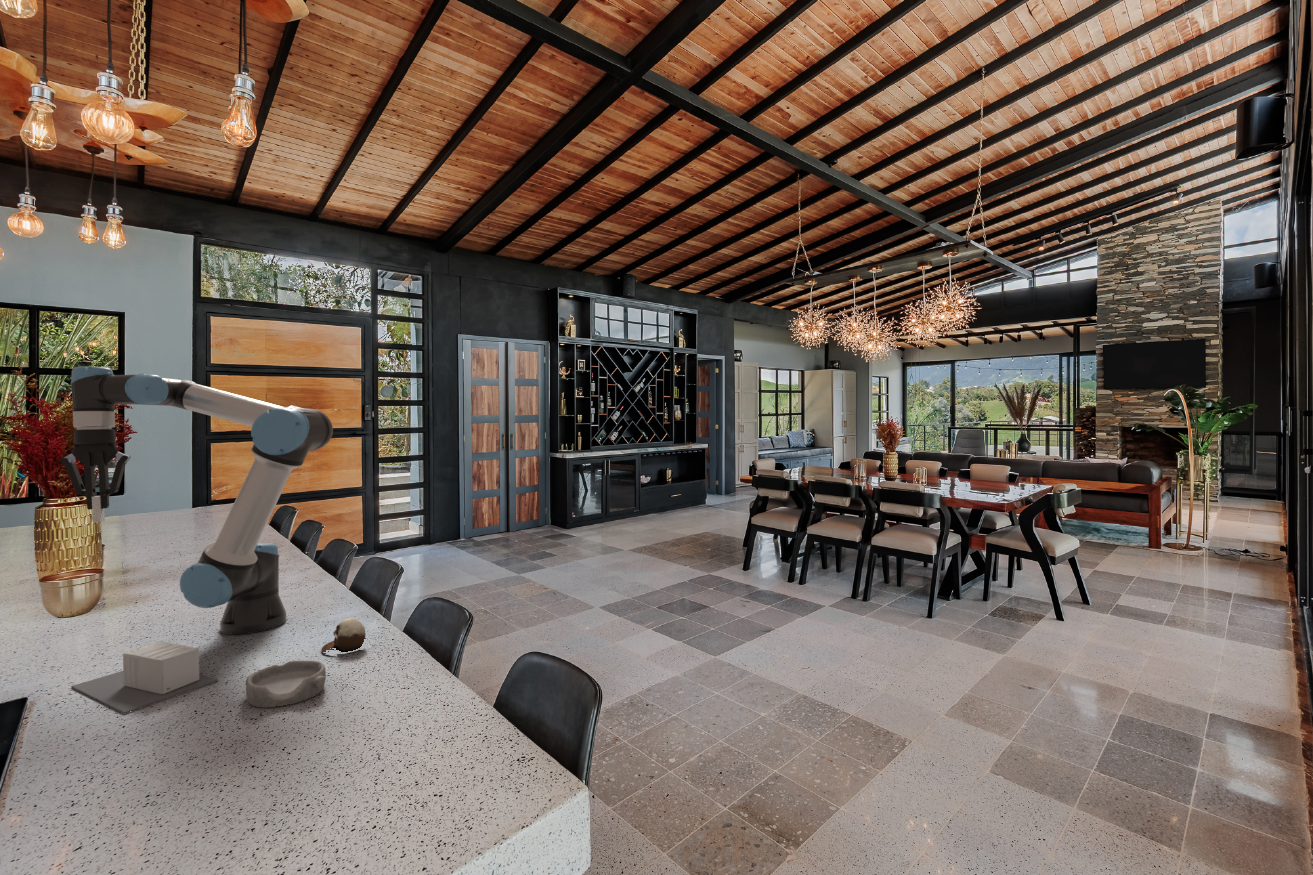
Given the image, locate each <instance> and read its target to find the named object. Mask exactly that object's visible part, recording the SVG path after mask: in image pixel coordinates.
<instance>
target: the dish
mask: <svg viewBox="0 0 1313 875" xmlns="http://www.w3.org/2000/svg"><path fill="white" fill-rule="evenodd" d="M326 671H327V670H326V666H325V664H324V663H323V662H321V661H318V660H290V661H288V662H285V663H284V664H273V665H270V666H266V667H265V668H262V669H260V670H257V671H255V672H254V673H252V674H250V675H249V676H248V677H246V679H245V695H246V700H247V702H248V704H250V705H251V706H253V707H257V708H261V707H262V708H265V709H266V708H268V707H269V708H276V707H275V706H280V707H284V706H283V705H285V706H288V705H287V704H290V705H294V704H297V703H296V702H298V703H300V702H304V701H306V700H309V699H311V697H312V698H313V697H315V696H317V695H318V694H319V693H321V692H322V690H323V689H324V687H325V683H326V678H327V677H326V676H327V674H326V673H327V672H326ZM316 694H317V695H316ZM308 698H309V699H308ZM303 700H304V701H303ZM293 703H294V704H293Z"/></svg>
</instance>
